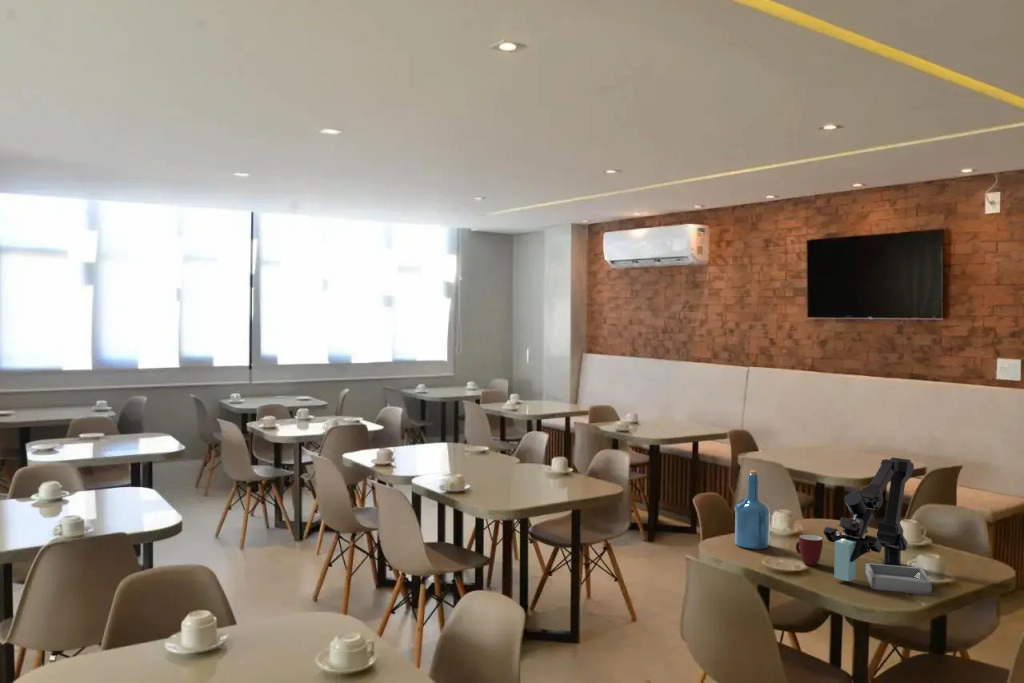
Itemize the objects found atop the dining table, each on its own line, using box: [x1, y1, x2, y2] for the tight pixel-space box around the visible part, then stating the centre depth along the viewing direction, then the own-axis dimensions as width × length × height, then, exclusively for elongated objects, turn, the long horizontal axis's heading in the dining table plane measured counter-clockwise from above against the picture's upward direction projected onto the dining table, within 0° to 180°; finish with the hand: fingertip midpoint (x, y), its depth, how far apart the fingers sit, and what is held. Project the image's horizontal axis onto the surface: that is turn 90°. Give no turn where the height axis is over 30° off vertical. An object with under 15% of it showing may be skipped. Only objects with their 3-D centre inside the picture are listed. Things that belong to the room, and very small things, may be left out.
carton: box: [833, 539, 857, 582], centre depth 271 cm, size 5×5×14 cm
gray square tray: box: [864, 562, 933, 596], centre depth 269 cm, size 17×18×4 cm
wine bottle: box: [734, 470, 771, 550], centre depth 315 cm, size 14×13×30 cm
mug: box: [795, 534, 824, 567], centre depth 292 cm, size 11×8×10 cm
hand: (843, 559), depth 270 cm, fingers closed on carton, 5 cm apart
